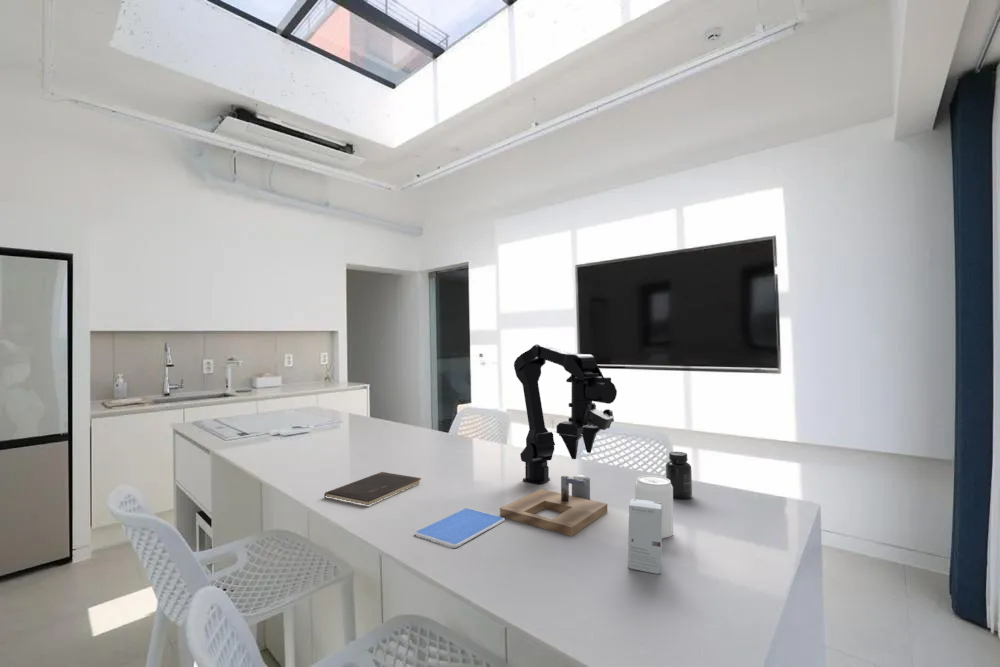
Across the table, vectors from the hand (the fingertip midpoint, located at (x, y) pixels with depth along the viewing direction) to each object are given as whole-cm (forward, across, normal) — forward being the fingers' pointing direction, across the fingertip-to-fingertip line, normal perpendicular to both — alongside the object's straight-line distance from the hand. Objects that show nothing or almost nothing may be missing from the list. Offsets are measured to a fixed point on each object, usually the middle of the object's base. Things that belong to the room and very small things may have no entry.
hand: (581, 455), depth 128 cm
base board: (+12, -15, 0) cm, 19 cm away
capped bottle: (+12, 0, 0) cm, 12 cm away
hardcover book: (+13, -30, +52) cm, 61 cm away
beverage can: (+12, -12, -24) cm, 29 cm away
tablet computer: (+13, -35, +13) cm, 40 cm away
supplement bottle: (+12, +18, -21) cm, 30 cm away
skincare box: (+12, -29, -28) cm, 41 cm away
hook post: (+10, -9, -2) cm, 14 cm away
